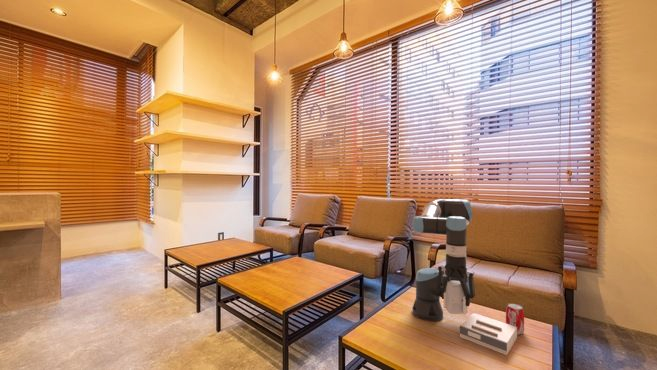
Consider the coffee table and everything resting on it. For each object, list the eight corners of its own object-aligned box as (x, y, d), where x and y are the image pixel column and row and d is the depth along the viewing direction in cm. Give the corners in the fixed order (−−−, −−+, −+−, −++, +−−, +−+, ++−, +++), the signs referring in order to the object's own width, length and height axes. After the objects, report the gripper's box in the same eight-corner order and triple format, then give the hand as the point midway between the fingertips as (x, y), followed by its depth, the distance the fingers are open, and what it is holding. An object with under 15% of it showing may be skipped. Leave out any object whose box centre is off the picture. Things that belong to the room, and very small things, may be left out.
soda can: (526, 336, 124) (527, 310, 124) (509, 334, 126) (509, 308, 126) (519, 328, 131) (519, 303, 131) (503, 326, 133) (503, 301, 132)
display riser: (459, 337, 124) (459, 324, 123) (473, 323, 136) (473, 310, 136) (506, 356, 111) (506, 341, 111) (516, 338, 123) (517, 324, 123)
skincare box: (450, 314, 112) (451, 284, 111) (445, 309, 116) (445, 280, 116) (465, 313, 112) (465, 284, 112) (459, 308, 116) (459, 280, 116)
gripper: (428, 252, 117) (427, 305, 118) (480, 261, 104) (479, 322, 104) (435, 248, 123) (434, 299, 124) (485, 257, 109) (484, 314, 110)
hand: (455, 310), depth 114 cm, fingers closed on skincare box, 7 cm apart
